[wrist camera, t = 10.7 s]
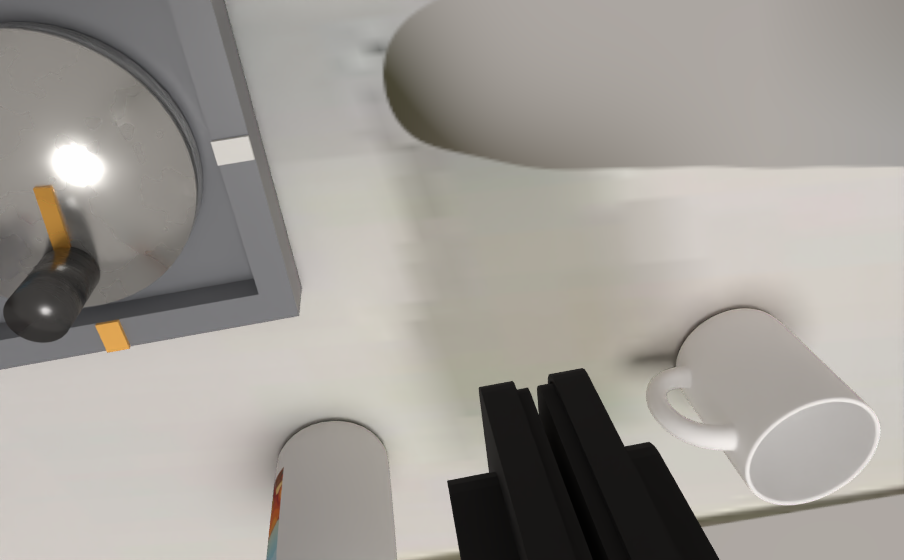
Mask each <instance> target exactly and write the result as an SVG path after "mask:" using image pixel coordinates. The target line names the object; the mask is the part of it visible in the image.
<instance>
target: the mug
mask: <svg viewBox="0 0 904 560" xmlns="http://www.w3.org/2000/svg"><path fill="white" fill-rule="evenodd" d="M677 388H681V390H682V392H683V394H684V395H685V397H686V398H687V400H688V401H689V403H690V404H691V406H692V407H693V409H694V410H695V411H696V413H697V414H698V416H699V417H700V419H701V420H702V422H703V423H704V424H703V423H698V422H695V421H692V420H690V419H688V418H686V417H684V416H683V415H681V414H680V413H678V412H677V411H676V410H675V409H674V408H673V407H672V406H671V405H670V403H669V402H668V399H667V393H668V392H669V391H670V390H673V389H677ZM646 401H647V405H648V408H649V410H650V412H651V414H652V415H653V417H654V418H655V419H656V421H657V422H658V423H659V424H660V425H661V426H662V427H663V428H664V429H665V430H666V431H667V432H669V433H670V434H671V435H673V436H675V437H676V438H678V439H680V440H682V441H684V442H686V443H688V444H691V445H694V446H697V447H701V448H705V449H711V450H723V452H724V453H725V455H726V456H727V457H728V459H729V460H730V462H731V463H732V465H733V466H734V467H735V469H736V470H737V472H738V473H739V475H740V476H741V478H742V479H743V480H744V482H745V483H746V485H747V486H748V488H749V489H750V490H751V491H752V492H753V494H755V495H756V496H757V497H758V498H760V499H762V500H764V501H766V502H769V503H772V504H778V505H797V504H803V503H807V502H811V501H814V500H817V499H820V498H822V497H825V496H827V495H829V494H831V493H833V492H835V491H837V490H838V489H840V488H842V487H843V486H845V485H846V484H847V483H849V482H850V481H851V480H852V479H854V478H855V477H856V476H857V475H858V474H859V473H860V472H861V471H862V470H863V469H864V468H865V466H866V465H867V464H868V463H869V461H870V460H871V458H872V457H873V455H874V453H875V451H876V449H877V446H878V444H879V440H880V432H881V428H880V422H879V420H878V417H877V415H876V413H875V412H874V410H873V409H872V408H871V407H870V406H869V405H867V404H866V403H865V402H864V401H863V400H862V399H861V398H860V397H859V396H858V395H857V394H856V393H855V392H854V391H853V390H852V389H851V388H850V387H849V386H848V385H847V384H845V383H844V382H843V381H842V380H841V379H840V378H839V377H838V376H837V375H836V374H835V373H834V372H833V371H832V370H831V369H830V368H829V367H828V366H827V365H826V364H825V363H823V362H822V361H821V360H820V359H819V358H818V357H817V356H816V355H815V354H814V353H813V352H812V351H811V350H810V349H809V348H808V347H807V346H806V345H805V344H804V343H803V342H802V341H800V340H799V339H798V338H797V337H796V336H795V335H794V334H793V333H792V332H791V331H790V330H789V329H788V328H787V327H786V326H785V325H784V324H782V323H781V322H780V321H779V320H778V319H776V318H775V317H773V316H772V315H770V314H768V313H766V312H764V311H760V310H756V309H749V308H741V309H733V310H729V311H725V312H723V313H720V314H717V315H715V316H713V317H711V318H709V319H708V320H706V321H705V322H703V323H702V324H700V325H699V326H698V327H697V328H696V329H694V331H693V332H692V333H691V334H690V335H689V336H688V337H687V339H686V340H685V341H684V343H683V345H682V346H681V348H680V351H679V353H678V356H677V360H676V367H674V368H670V369H667V370H664V371H662V372H660V373H658V374H657V375H656V376H655V377H653V378H652V379H651V381H650V383H649V384H648V387H647V390H646Z"/></svg>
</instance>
